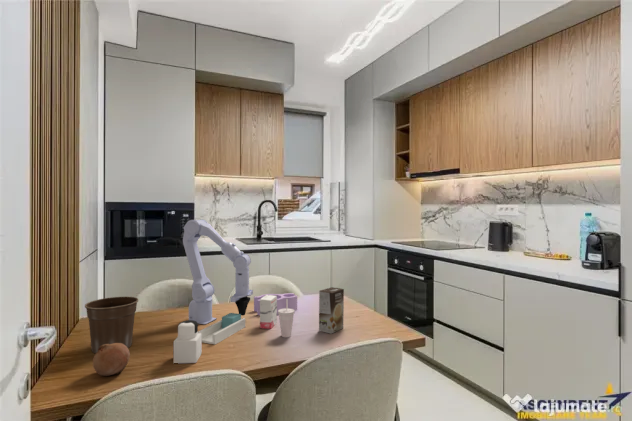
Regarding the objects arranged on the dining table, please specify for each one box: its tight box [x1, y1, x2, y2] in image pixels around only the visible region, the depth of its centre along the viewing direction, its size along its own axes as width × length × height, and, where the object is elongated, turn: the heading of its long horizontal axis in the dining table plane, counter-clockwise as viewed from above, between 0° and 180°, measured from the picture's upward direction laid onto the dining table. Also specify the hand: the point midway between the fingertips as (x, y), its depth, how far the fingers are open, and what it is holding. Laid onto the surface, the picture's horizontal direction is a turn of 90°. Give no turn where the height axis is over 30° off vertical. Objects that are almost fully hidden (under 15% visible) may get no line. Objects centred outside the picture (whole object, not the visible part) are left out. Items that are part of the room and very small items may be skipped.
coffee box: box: [318, 287, 345, 335], centre depth 141 cm, size 9×6×16 cm
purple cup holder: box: [253, 292, 298, 316], centre depth 167 cm, size 20×12×7 cm, turn 113°
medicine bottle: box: [172, 319, 203, 364], centre depth 113 cm, size 7×7×12 cm
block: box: [221, 312, 242, 328], centre depth 141 cm, size 6×5×4 cm
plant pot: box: [84, 296, 139, 354], centre depth 122 cm, size 16×16×16 cm
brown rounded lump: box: [92, 343, 131, 377], centre depth 103 cm, size 10×9×10 cm
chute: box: [198, 317, 246, 345], centre depth 136 cm, size 20×8×4 cm, turn 160°
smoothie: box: [278, 299, 296, 338], centre depth 134 cm, size 6×6×14 cm
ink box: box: [259, 294, 278, 330], centre depth 145 cm, size 9×5×12 cm, turn 168°
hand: (242, 314), depth 149 cm, fingers closed
